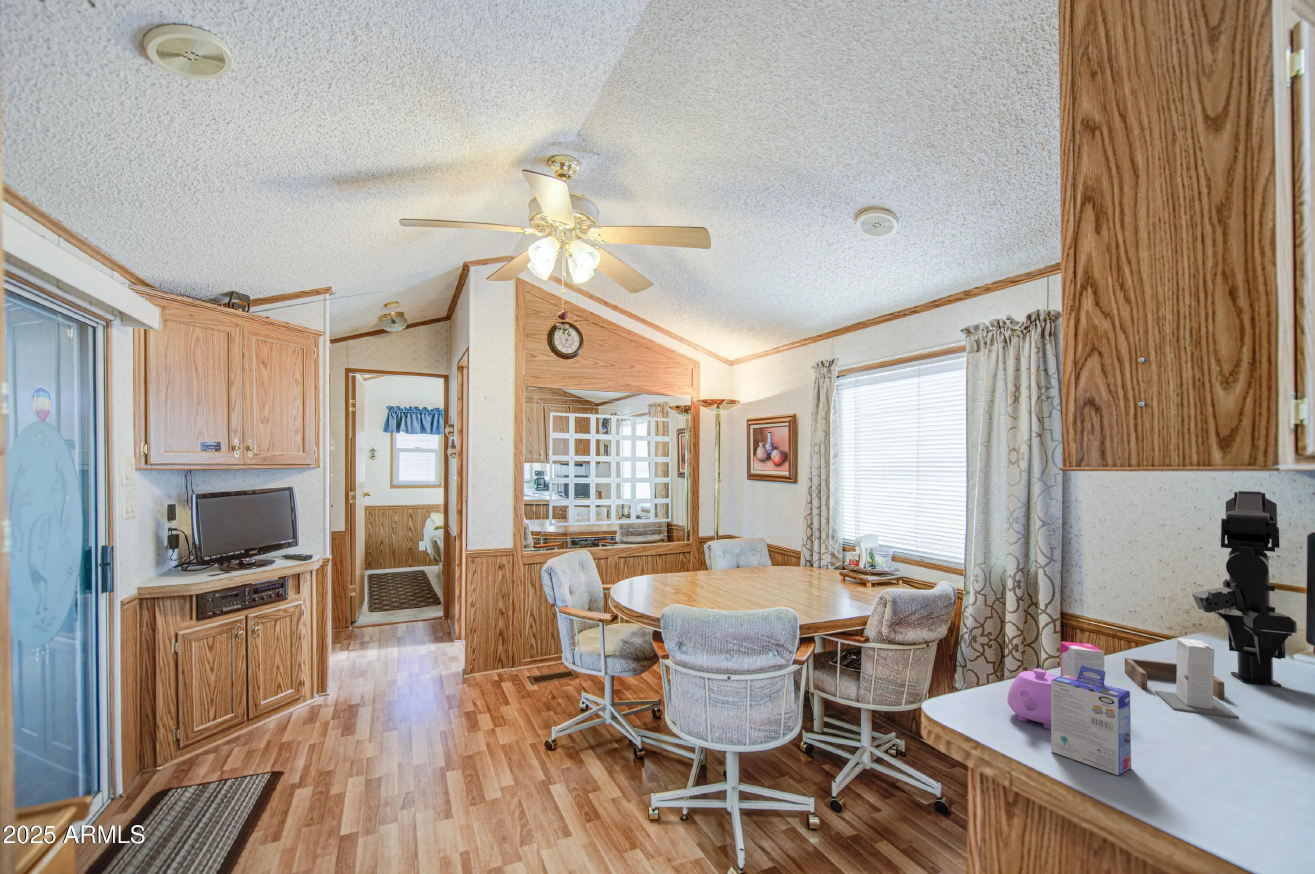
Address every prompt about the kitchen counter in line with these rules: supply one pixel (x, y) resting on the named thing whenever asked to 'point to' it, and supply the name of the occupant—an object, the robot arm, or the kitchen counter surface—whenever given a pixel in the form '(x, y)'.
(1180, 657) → the skincare box
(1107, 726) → the ink cartridge box
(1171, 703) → the charcoal mat
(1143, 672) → the walnut u-shaped bracket
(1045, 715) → the pink rounded plastic body
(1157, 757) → the kitchen counter surface
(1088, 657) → the supplement box
